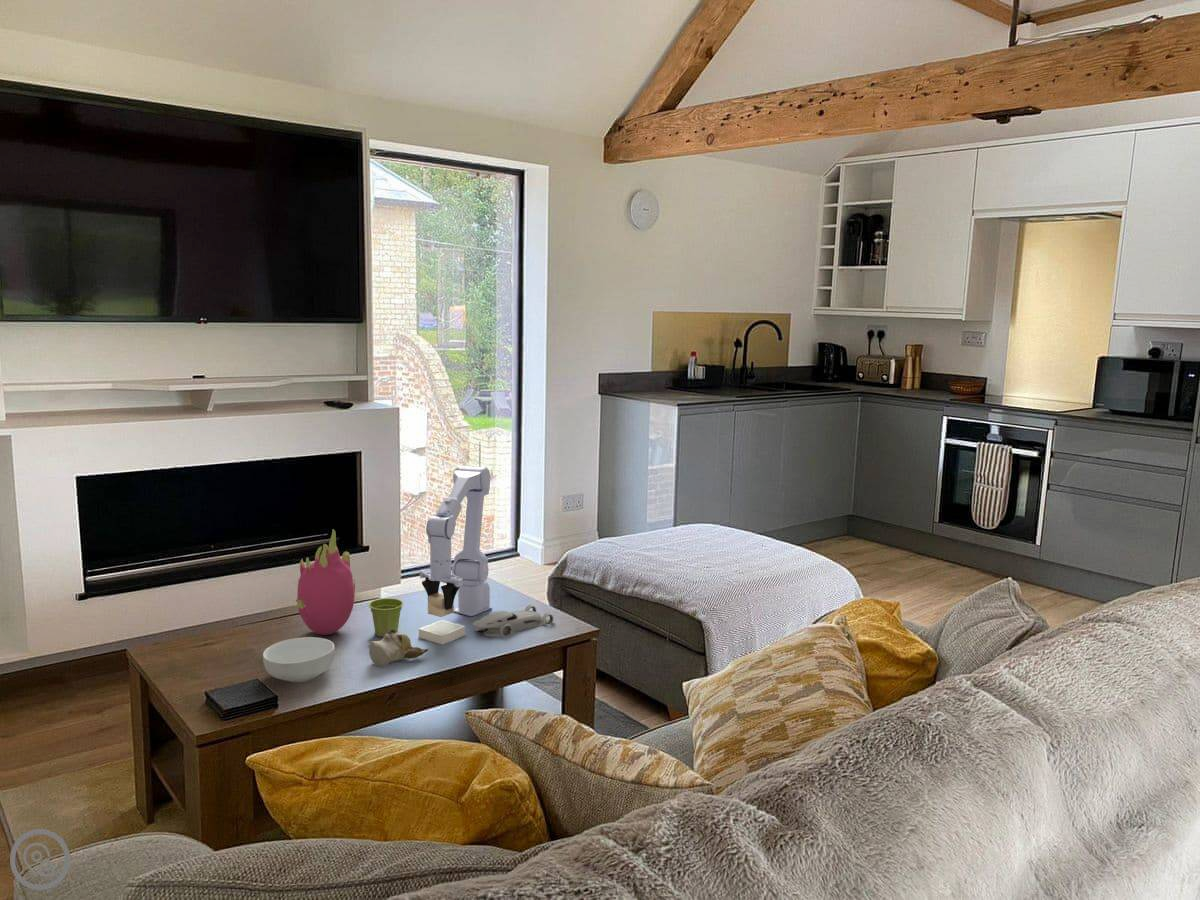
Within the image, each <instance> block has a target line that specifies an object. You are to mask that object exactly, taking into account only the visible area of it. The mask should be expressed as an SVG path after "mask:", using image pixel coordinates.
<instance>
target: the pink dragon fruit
mask: <svg viewBox="0 0 1200 900" xmlns="http://www.w3.org/2000/svg"><path fill="white" fill-rule="evenodd" d="M331 530H332V532H331V536H330V539H329V541H328V542H329V543H328V544H326V543H323V545H322V546H319V547H318V548H317V550H316V552H315V554H314V555H315V556H314V562H312V563H311V562H310V561H311V560H310V559H309V557H306V559H305V563H304V560H303V558H301V560H300V561H299V572H300V576H299V578H298V581H297V596H296V597H297V598H296V599H295V601H296V603H297V609H298V614H299V616H300V617H301V619H302V621H303V622H304V624H305V625H306V626H307V628H308V629H309V630H311V631H312V632H314V633H315V634H318V635H322V636H323V635H324V636H326V635H332V634H334V633H337V632H338V631H339V630H341V629H342V628H343V627H344V626H345V624H346V623H347V622H348V621H349V619H350V616H351V614H352V612H353V608H354V603H355V595H356V594H355V592H356V580H355V578H353V573H352V569H351V559H350V556H351V555H350V552H348V551H344V552H343V553H342V556H341V555H340V552H339V548H338V546H337V537H336V536H337V535H336V530H335V529H333V528H332V529H331Z"/></svg>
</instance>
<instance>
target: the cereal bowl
mask: <svg viewBox="0 0 1200 900" xmlns="http://www.w3.org/2000/svg"><path fill="white" fill-rule="evenodd" d="M335 651H336V650H335V644H334V642H333V641H331V640H329V639H327V638H323V637H314V636H307V637H295V638H289V639H285V640H282V641H278V642H276V643H274V644H271V645H270V646H268V647H266V648H265V650H264V651H263V653H262V661H263V665H264V669H265V670H266V672H267V673H268V674H269V675H270V676H271V677H273V678H275V679H279V680H281V681H282V680H283V681H286V682H288V681H289V683H302V682H308V681H311V680H314V678H316V677H317V676H318V675H321V674H323V673H324V672H326V671H327V670H329V668H330V667H331V666H332V664H333V662H334V659H335V654H336V653H335Z"/></svg>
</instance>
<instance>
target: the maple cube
mask: <svg viewBox="0 0 1200 900" xmlns="http://www.w3.org/2000/svg"><path fill="white" fill-rule="evenodd" d="M454 605H455V602H453V606H452V608H451V609H449V610H445V606H444V595H443V591H438V593H435V594H432V595H430V596H428V595H427V614H428V615H433V616H435V617H439V618H443V617H445V616H448V615H450V614H453V613H455V612H454V609H455V606H454Z"/></svg>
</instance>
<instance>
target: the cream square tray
mask: <svg viewBox="0 0 1200 900" xmlns="http://www.w3.org/2000/svg"><path fill="white" fill-rule="evenodd" d="M465 635H466V626H465V625H461V624H457V623H454V622H451V621H446V620H444V619H443V620H442V619H441V620H437V621H435V622H433V623H431V624H430V623H429V624H428V625H425V626H422V627H420V628H418V638H420V639H421V640H422V639H423V640H426V641H430V642H433V643H436V644H439V645H445V644H447V643H451V642H452V641H454V640H457V639H460V638H463V636H465Z"/></svg>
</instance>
